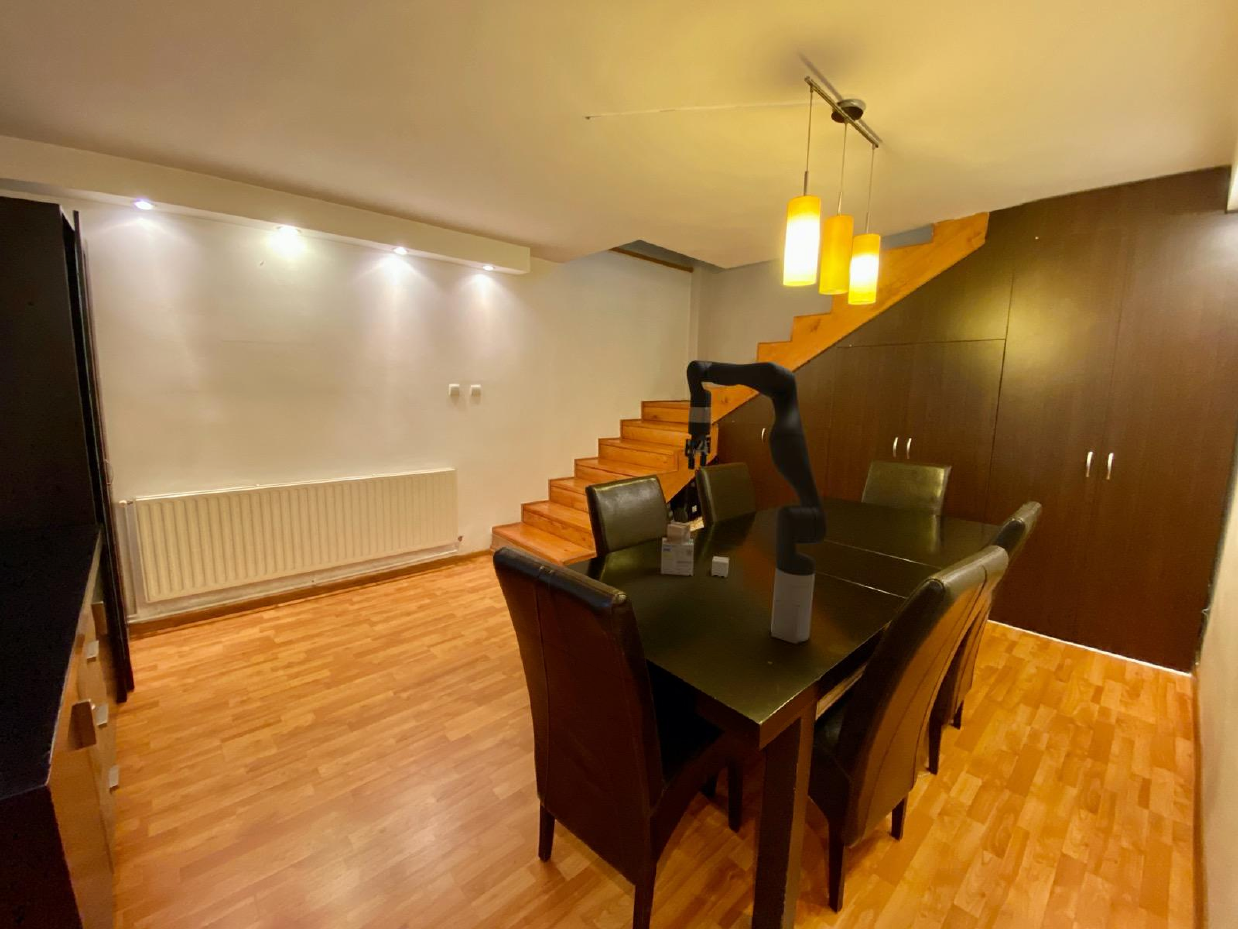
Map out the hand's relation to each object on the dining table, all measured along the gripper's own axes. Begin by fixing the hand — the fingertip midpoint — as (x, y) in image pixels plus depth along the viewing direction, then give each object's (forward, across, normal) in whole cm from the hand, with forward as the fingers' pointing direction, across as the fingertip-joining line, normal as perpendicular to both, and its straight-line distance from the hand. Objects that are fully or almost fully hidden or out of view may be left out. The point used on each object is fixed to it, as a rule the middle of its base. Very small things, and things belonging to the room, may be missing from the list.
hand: (697, 467), depth 171 cm
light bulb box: (+34, -11, 0) cm, 36 cm away
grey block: (+34, -3, -12) cm, 36 cm away
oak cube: (+23, -11, 0) cm, 26 cm away
